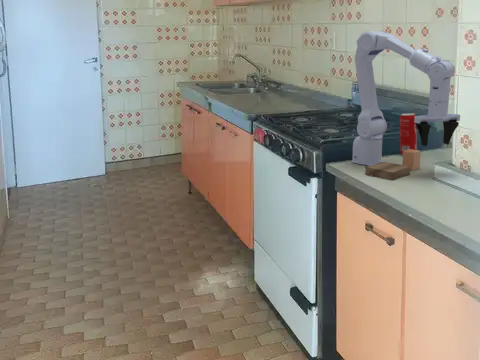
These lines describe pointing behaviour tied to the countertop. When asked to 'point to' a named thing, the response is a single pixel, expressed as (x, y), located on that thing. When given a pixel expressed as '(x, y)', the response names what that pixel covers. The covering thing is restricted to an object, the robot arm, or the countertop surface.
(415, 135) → the beverage can
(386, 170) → the walnut base
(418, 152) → the terracotta block
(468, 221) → the countertop surface
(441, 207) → the countertop surface
